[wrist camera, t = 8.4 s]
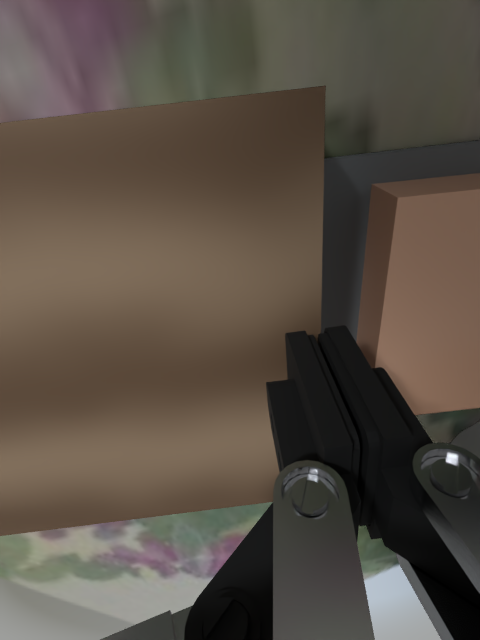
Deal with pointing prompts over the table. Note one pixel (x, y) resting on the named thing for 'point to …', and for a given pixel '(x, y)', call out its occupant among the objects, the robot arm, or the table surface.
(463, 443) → the cup
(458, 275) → the tile
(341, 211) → the mat
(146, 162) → the board
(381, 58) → the table surface
